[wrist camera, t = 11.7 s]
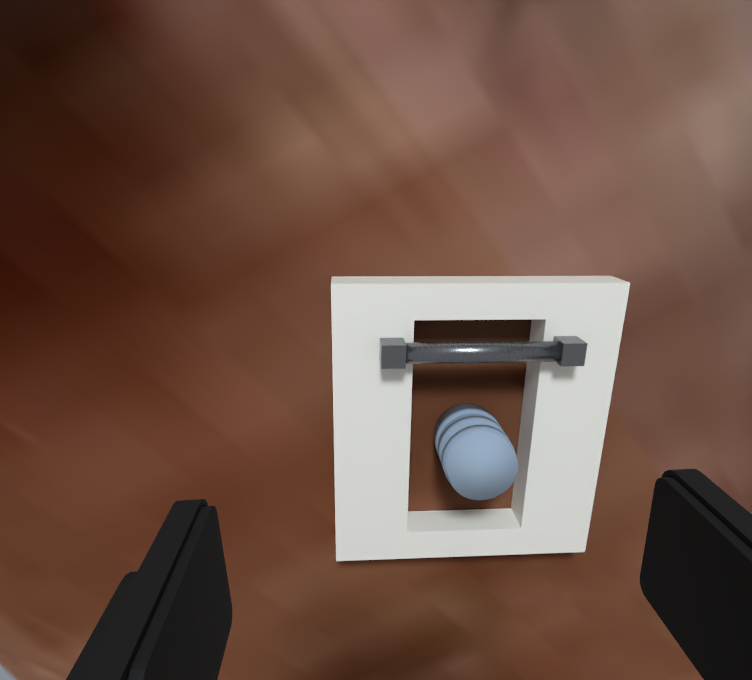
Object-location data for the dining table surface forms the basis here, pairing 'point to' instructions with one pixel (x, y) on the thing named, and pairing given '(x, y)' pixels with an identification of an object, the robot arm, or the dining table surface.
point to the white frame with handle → (537, 426)
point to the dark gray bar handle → (482, 352)
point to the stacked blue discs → (475, 452)
